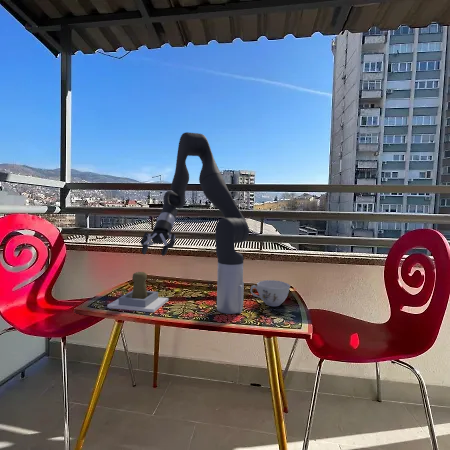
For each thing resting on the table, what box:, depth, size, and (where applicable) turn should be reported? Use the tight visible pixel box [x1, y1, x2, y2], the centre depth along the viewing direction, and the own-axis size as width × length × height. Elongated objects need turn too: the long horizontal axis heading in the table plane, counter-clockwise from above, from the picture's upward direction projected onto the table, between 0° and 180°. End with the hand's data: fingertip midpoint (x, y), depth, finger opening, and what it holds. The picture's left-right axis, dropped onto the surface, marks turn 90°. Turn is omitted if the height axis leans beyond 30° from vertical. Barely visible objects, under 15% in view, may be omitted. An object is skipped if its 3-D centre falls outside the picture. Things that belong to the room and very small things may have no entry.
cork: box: [131, 271, 148, 299], centre depth 104 cm, size 6×6×11 cm
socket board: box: [106, 289, 169, 313], centre depth 104 cm, size 18×13×4 cm
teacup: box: [249, 279, 291, 307], centre depth 107 cm, size 15×12×8 cm
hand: (152, 254), depth 114 cm, fingers open, 8 cm apart
